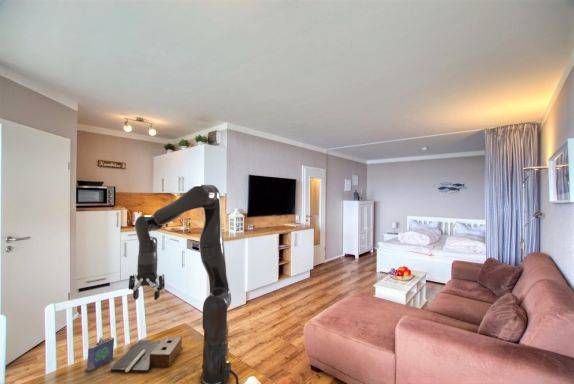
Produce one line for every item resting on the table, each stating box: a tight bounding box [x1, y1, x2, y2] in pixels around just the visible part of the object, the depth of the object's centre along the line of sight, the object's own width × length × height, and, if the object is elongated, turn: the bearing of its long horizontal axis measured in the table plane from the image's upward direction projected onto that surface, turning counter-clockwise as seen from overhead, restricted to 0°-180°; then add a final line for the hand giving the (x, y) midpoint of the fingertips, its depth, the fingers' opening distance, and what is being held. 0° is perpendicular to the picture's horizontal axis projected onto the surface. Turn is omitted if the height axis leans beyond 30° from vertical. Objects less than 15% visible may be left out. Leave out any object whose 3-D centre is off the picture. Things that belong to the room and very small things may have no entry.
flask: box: [86, 336, 115, 372], centre depth 103 cm, size 9×3×11 cm, turn 151°
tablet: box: [110, 339, 161, 373], centre depth 110 cm, size 14×20×1 cm
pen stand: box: [149, 336, 183, 368], centre depth 110 cm, size 8×13×5 cm, turn 1°
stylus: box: [124, 349, 146, 373], centre depth 104 cm, size 1×1×13 cm
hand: (146, 299), depth 109 cm, fingers open, 8 cm apart
